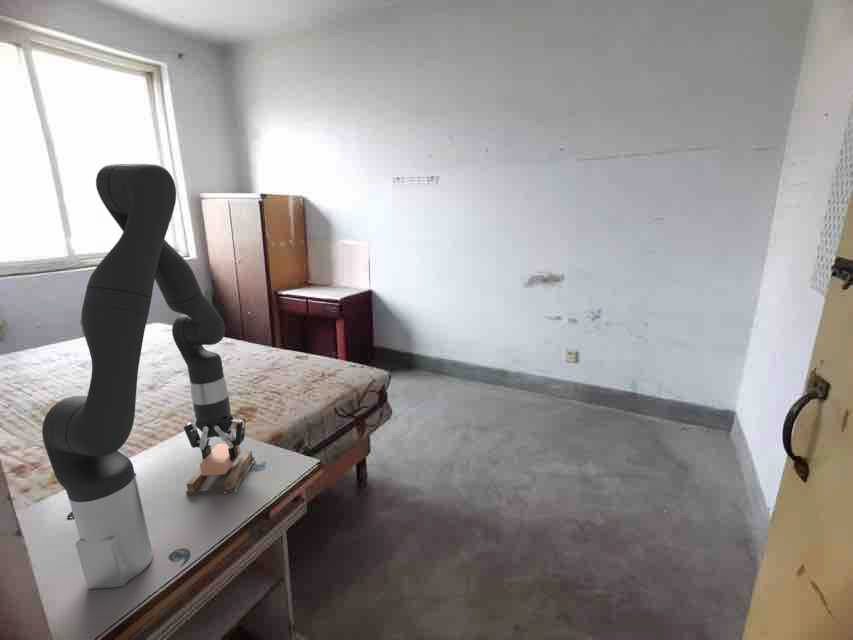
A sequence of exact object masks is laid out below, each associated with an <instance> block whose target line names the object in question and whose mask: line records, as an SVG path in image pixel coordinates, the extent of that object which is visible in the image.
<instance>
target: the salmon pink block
mask: <svg viewBox="0 0 853 640" xmlns="http://www.w3.org/2000/svg"><path fill="white" fill-rule="evenodd" d="M240 446H241V445H237V448H238V456H237V457H236V459H237V458H239V456H240V455H241V454H242V452H241V447H240ZM228 448H229V447H228V445H227V444H226V443H216V444H215V446H214V447H213V449H211V452H210V454H209V455H208V456H207V457H206V458H205V459H204V460H203V459H202V461H201V462H200V463H199V469H200V468H201V473H202V476H205V475H222V474H226V473H227V472H228V470H229V469H230V467H231V466H232V465H233V463H234V462H235V461H236V459H235V460H234V461H231V460H230V455H229V451H228Z"/></svg>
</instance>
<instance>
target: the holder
mask: <svg viewBox="0 0 853 640" xmlns="http://www.w3.org/2000/svg"><path fill="white" fill-rule="evenodd" d="M254 459H255V460H256V457H253V451H252V450H245V452H244V453H243V454H242V456H241V457H238V458H237V459H236V461H235V462H234V463H233V465H232V466H231V467H230V469H229V470H228V472H227V473H226V474H222V475H205V476H202V473H201V468H200V467H199V468H198V470H197V471H196V472H195V473H194V474H193V476H192V477H191V478H190V479H189V480H188V481H187V482H186V488H187V490H186V491H185V493H186V494H185V495H186V496H199V495H201V494H203V495H212V494H211V493H220V494H225V493H224V492H235V490H236V489H237V490H238V488H239V487H240V485H241V484H240V483H242V482H243V481H242V480H244V479H245V477H246V476H247V474H248V473H247V471H248V469H249V467H250V466H251V464H252V462H253V461H254ZM251 467H252V466H251ZM248 472H249V471H248ZM246 473H247V474H246ZM245 475H246V476H245ZM244 476H245V477H244ZM243 478H244V479H243ZM241 481H242V482H241ZM238 486H239V487H238ZM237 490H236V491H237ZM235 493H236V492H235Z"/></svg>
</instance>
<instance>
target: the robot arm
mask: <svg viewBox="0 0 853 640" xmlns="http://www.w3.org/2000/svg"><path fill="white" fill-rule="evenodd" d="M95 188H96V191H97V194H98V196H99V198H100V200H101V201H102V203H103V205H104V207H105V208H106V210H107V211H108V212H109V214H110V216H111V217H112V218H113V219H114V221H115V222H116V224H117V225H118V226H119V228H120V229H121V230H122V234H121V236H120V237H119V239H118V240H117V242H116V243H115V244H114V246H113V247H112V248H111V249H110V250H109V251H108V253H107V254H106V255H105V256H104V257H103V259H102V260H101V261H100V262H99V264H98V265H97V266H96V268H95V269H94V271H92V273H91V275H90V277H89V280H88V283H87V285H86V288H85V289H86V291H85V295H84V299H83V303H82V308H81V314H80V315H81V316H80V319H81V320H80V321H81V326H82V331H83V335H84V338H85V341H86V345H87V347H88V351H89V354H90V359H91V376H90V377H91V378H90V381H89V382H90V384H89V386H88V387H89V388H88V392H87V395H75V396H70V397H66V398H64V399H61V400H60V401H58V402H57V403H55V404H54V405H53V406H52V407H51V408H50V409H49V410H48V411H47V413H46V415H45V417H44V420H43V423H42V428H41V429H42V431H41V434H42V440H43V444H44V448H45V452H46V454H47V457H48V460H49V463H50V465H51V468H52V471H53V474H54V476H55V478H56V480H57V482H58V483H59V485H60V486H61V487H62V488H63V489H64V490H65V492H66V495H67V497H68V501H69V504H70V507H71V511H72V512H73V516H74V518H73V519H74V523H75V526H76V527H75V528H76V530H77V535H78V537H79V539H78V540H77V541H76V542H75V547H76V551H77V555H78V558H79V562H80V566H81V569H82V573H83V576H84V580H85V583H86V587H87V589H88V590H91V589H105V588H106V589H107V588H123V587H124V586H126V584H127V583H128V582H129V581H130V580H132V579H134V578H136V577H137V576H138V575H139V574H140V573H142V572H143V571H144V570H145V569H147V568H148V566H149V565H150V563H151V562H152V560H153V557H154V552H153V547H152V544H151V539H150V534H149V529H148V524H147V521H146V518H145V517H146V516H145V512H144V509H143V504H142V500H141V495H140V491H139V486H138V482H137V477H136V476H135V473H136V472H135V470H134V469H135V468H134V465H133V463H132V461H131V460H130V458H128V457H127V456H126V455H124V454H123V453H121V452H120V451H119V450H120V449H121V448H122V446H123V445H125V443H126V442H127V440H128V439H129V437H130V434H131V432H132V429H133V426H134V422H135V415H136V404H137V403H136V402H137V401H136V400H137V391H138V390H137V389H138V375H139V368H140V367H139V366H140V361H141V356H142V355H141V354H142V348H143V341H144V336H145V330H146V326H147V322H148V319H149V314H150V308H151V304H152V298H153V290H154V283H155V282H156V284H157V286H158V289H159V291H160V293H161V295H162V297H163V299H164V301H165V303H166V304H167V307H168V308H169V309H170V310H171V311H173V312H174V313H177V314H180V315H179V316H177V318H176V319H174V321H173V322H172V328H171V334H172V338H173V340H174V343H175V345H176V347H177V349H178V351H179V353H180V355H181V357H182V358H183V360H184V362H185V364H186V366H187V372H188V377H189V382H190V396H191V401H192V405H193V406H192V407H193V411H194V416H195V420H196V421H193V420H191V421H188V423H186V424H185V425H184V426H183V430H184V432H185V435H186V437H187V439H188V441H189V444H190V446H191V448H193V449H195V448H198V449H200V451H201V452H200V453H201V457H202V461H203V460H204V459H205V458H206V457H207V456H208V455H209V454H210V452H211V451H212V448H211V444H210V441H211V438H214V437H216V438H221V440H222V442H225V444H227V445H228V447H229V448H228V451H229V455H230V460H231V461H234V460H235V459H236V457H237V456H238V448H237V445H239V446H241V444H242V442H244V441H245V436H246V435H245V434H246V422H247V421H246V419H245V418H241V419H234V418H233V416H232V414H231V413H232V412H231V404H230V399H229V390H228V387H227V386H228V385H227V382H226V378H225V375H224V367H223V363H222V362H223V361H222V358H221V355H220V354H219V353H216V352H214V351H210V350H207V349H206V348H205V347H204V346H210V345H211V346H213V345H216V344H219V343H220V342H221V341H222V340H223V338H224V337H225V334H226V326H225V322H224V319H223V318H222V317H221V315H220V313H219V312H218V311H217V309H216V308H215V307H214V306H213V305H212V303H211V302H210V300H209V299H208V298H207V297H205V295H204V294H203V292H202V289H201V287H200V285H199V282H198V280H197V277H196V275H195V272H194V271H193V269H192V268H191V266H190V265H189V264H188V262H187V261H186V260H185V259H184V257H182V255H180V254H179V252H178V251H177V250H175V248H173V247H172V246H171V244H169V243H168V242H167V240H166V239H165V238H166V236H167V233H168V230H169V227H170V223H171V221H172V217H173V214H174V210H175V207H176V201H177V188H176V183H175V181H174V178H173V176H172V174H171V173H170V172H169V171H168V170H167V169H166V168H165V167H163V166H161V165H159V164H155V163H147V162H146V163H145V162H144V163H141V162H140V163H139V162H138V163H114V164H113V163H111V164H108V165H104V166H103V167H102V168H100V170H99V171H98V173H97V175H96V179H95ZM232 425H233V428H234V430H236V431H235V432H234V430H233V428H232ZM198 429H199V431H200V432H202V433H201V436H200V434H199V431H198ZM238 457H239V456H238Z"/></svg>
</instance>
